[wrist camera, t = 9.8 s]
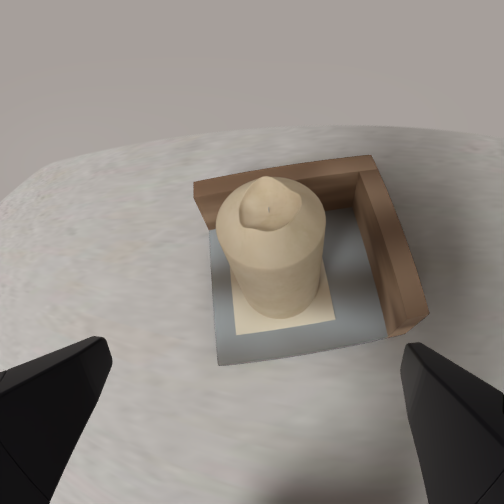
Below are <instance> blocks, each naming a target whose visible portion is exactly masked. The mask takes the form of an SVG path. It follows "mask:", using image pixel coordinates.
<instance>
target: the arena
mask: <svg viewBox="0 0 504 504" xmlns="http://www.w3.org/2000/svg"><path fill="white" fill-rule="evenodd" d="M263 176H269V177H282V178H287V179H291V180H294V181H297V182H299V183H301V184H303V185H305V186H306V187H308V188H309V189H310V190H312V191H313V192H314V193H315V194H316V196H317V197H318V198H319V200H320V201H321V203H322V205H323V208H324V211H325V216H326V227H325V236H324V245H323V254H322V262H321V270H320V278H319V285H318V290H317V294H316V296H315V298H314V300H313V301H312V303H311V304H310V305H309V306H308V308H306V309H305V310H304V311H303V312H301V313H300V314H298V315H296V316H293V317H290V318H286V319H274V318H269V317H266V316H264V315H262V314H260V313H258V312H257V311H256V310H254V309H253V308H252V307H251V306H250V304H249V303H248V301H247V300H246V298H245V296H244V294H243V292H242V290H241V288H240V286H239V284H238V281H237V279H236V277H235V275H234V273H233V271H232V269H231V267H230V264H229V262H228V260H227V258H226V256H225V254H224V252H223V249H222V247H221V245H220V243H219V241H218V237H217V233H216V219H217V215H218V212H219V209H220V207H221V205H222V204H223V202H224V201H225V199H226V198H227V197H228V196H229V195H230V194H231V193H232V192H233V191H234V190H236V189H237V188H238V187H240V186H242V185H243V184H246V183H248V182H250V181H253V180H256V179H259V178H261V177H263ZM194 200H195V202H196V204H197V206H198V208H199V210H200V212H201V214H202V217H203V219H204V221H205V223H206V225H207V227H208V229H209V240H210V259H211V277H212V293H213V308H214V322H215V335H216V348H217V360H218V365H219V366H225V365H234V364H243V363H251V362H259V361H266V360H274V359H281V358H287V357H294V356H300V355H306V354H312V353H317V352H323V351H329V350H334V349H339V348H344V347H349V346H354V345H359V344H363V343H368V342H373V341H377V340H381V339H386V338H390V337H394V336H398V335H402V334H405V333H407V332H408V331H409V330H410V329H412V328H413V327H414V326H415V325H417V324H418V323H419V322H420V321H421V320H423V319H424V318H425V317H426V316H427V315H429V310H428V306H427V303H426V299H425V296H424V292H423V289H422V286H421V282H420V279H419V276H418V273H417V270H416V267H415V264H414V261H413V258H412V255H411V252H410V249H409V246H408V243H407V240H406V238H405V235H404V232H403V229H402V227H401V224H400V221H399V219H398V216H397V214H396V211H395V209H394V206H393V204H392V201H391V199H390V196H389V194H388V192H387V189H386V187H385V184H384V182H383V180H382V178H381V175H380V173H379V171H378V169H377V166H376V164H375V162H374V160H373V158H372V155H363V156H354V157H345V158H337V159H329V160H321V161H314V162H307V163H300V164H293V165H286V166H280V167H273V168H267V169H261V170H255V171H249V172H244V173H238V174H232V175H227V176H222V177H217V178H211V179H206V180H201V181H196V182H194Z"/></svg>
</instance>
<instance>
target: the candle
mask: <svg viewBox="0 0 504 504" xmlns="http://www.w3.org/2000/svg"><path fill="white" fill-rule="evenodd" d="M325 227H326V216H325V211H324V208H323V205H322V203H321V201H320V200H319V198H318V197H317V196H316V194H315V193H314V192H313V191H312V190H310V189H309V188H308V187H306V186H305V185H303V184H301V183H299V182H297V181H294V180H291V179H287V178H282V177H269V176H263V177H261V178H259V179H256V180H253V181H250V182H248V183H246V184H243V185H242V186H240V187H238V188H237V189H236V190H234V191H233V192H232V193H231V194H230V195H229V196H228V197H227V198H226V199H225V201H224V202H223V204H222V205H221V207H220V209H219V212H218V215H217V219H216V233H217V237H218V241H219V243H220V245H221V247H222V249H223V252H224V254H225V256H226V258H227V260H228V262H229V264H230V267H231V269H232V271H233V273H234V275H235V277H236V279H237V281H238V284H239V286H240V288H241V290H242V292H243V294H244V296H245V298H246V300H247V301H248V303H249V304H250V306H251V307H252V308H253V309H254V310H256V311H257V312H258V313H260V314H262V315H264V316H266V317H269V318H274V319H286V318H290V317H293V316H296V315H298V314H300V313H301V312H303V311H304V310H305V309H306V308H308V306H309V305H310V304H311V303H312V301H313V300H314V298H315V296H316V294H317V290H318V285H319V278H320V270H321V262H322V254H323V245H324V236H325Z"/></svg>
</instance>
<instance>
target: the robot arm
mask: <svg viewBox="0 0 504 504" xmlns="http://www.w3.org/2000/svg"><path fill="white" fill-rule="evenodd" d="M111 367H112V356H111V353H110V350H109V347H108V344H107V341H106V339H105V338H103V337H97V336H92V337H90V338H87V339H85V340H82V341H80V342H77V343H75V344H72V345H70V346H67V347H65V348H62V349H59V350H57V351H54V352H52V353H49V354H47V355H44V356H42V357H39V358H37V359H34V360H31V361H29V362H26V363H24V364H21V365H18V366H16V367H13V368H11V369H8V370H7V371H6V370H5V371H3V372H0V504H49V503H50V501H51V498H52V496H53V494H54V491H55V489H56V487H57V485H58V482H59V480H60V478H61V476H62V474H63V471H64V469H65V467H66V465H67V463H68V461H69V459H70V456H71V454H72V452H73V450H74V448H75V446H76V444H77V442H78V440H79V438H80V436H81V434H82V432H83V430H84V428H85V426H86V424H87V422H88V420H89V418H90V416H91V414H92V412H93V410H94V408H95V406H96V404H97V402H98V399H99V397H100V394H101V392H102V389H103V387H104V384H105V382H106V379H107V377H108V374H109V372H110V369H111ZM400 372H401V379H402V385H403V391H404V396H405V403H406V409H407V415H408V420H409V424H410V427H411V431H412V435H413V439H414V442H415V446H416V450H417V454H418V458H419V462H420V466H421V471H422V475H423V479H424V484H425V488H426V493H427V498H428V503H429V504H504V395H503V393H502V392H501V391H499V390H497V389H496V388H494V387H493V386H491V385H489V384H488V383H486V382H484V381H483V380H481V379H480V378H478V377H476V376H475V375H473V374H471V373H470V372H468V371H467V370H465V369H463V368H462V367H460V366H458V365H457V364H455V363H453V362H452V361H450V360H448V359H447V358H445V357H444V356H442V355H440V354H439V353H437V352H435V351H434V350H432V349H430V348H429V347H427V346H425V345H424V344H422V343H420V342H416V343H408V344H407V345H406V346H405V350H404V354H403V359H402V364H401V369H400Z"/></svg>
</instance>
